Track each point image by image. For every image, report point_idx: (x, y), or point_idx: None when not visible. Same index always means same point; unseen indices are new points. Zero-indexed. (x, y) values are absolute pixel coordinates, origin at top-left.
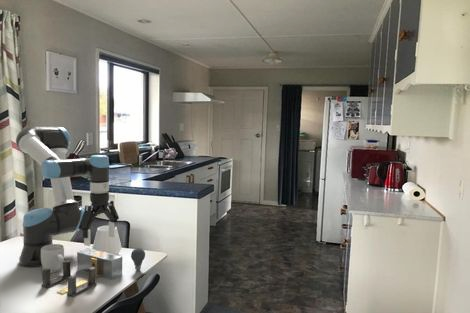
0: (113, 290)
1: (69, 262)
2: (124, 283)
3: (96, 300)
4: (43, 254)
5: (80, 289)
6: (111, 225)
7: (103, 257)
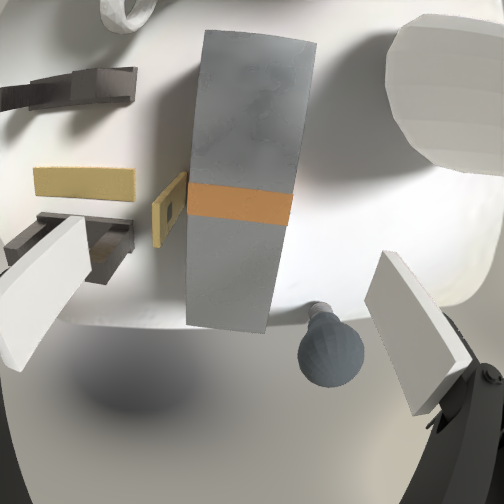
0: (141, 316)
1: (92, 97)
2: None
3: (77, 306)
4: None
5: None
6: (415, 366)
7: (204, 260)
